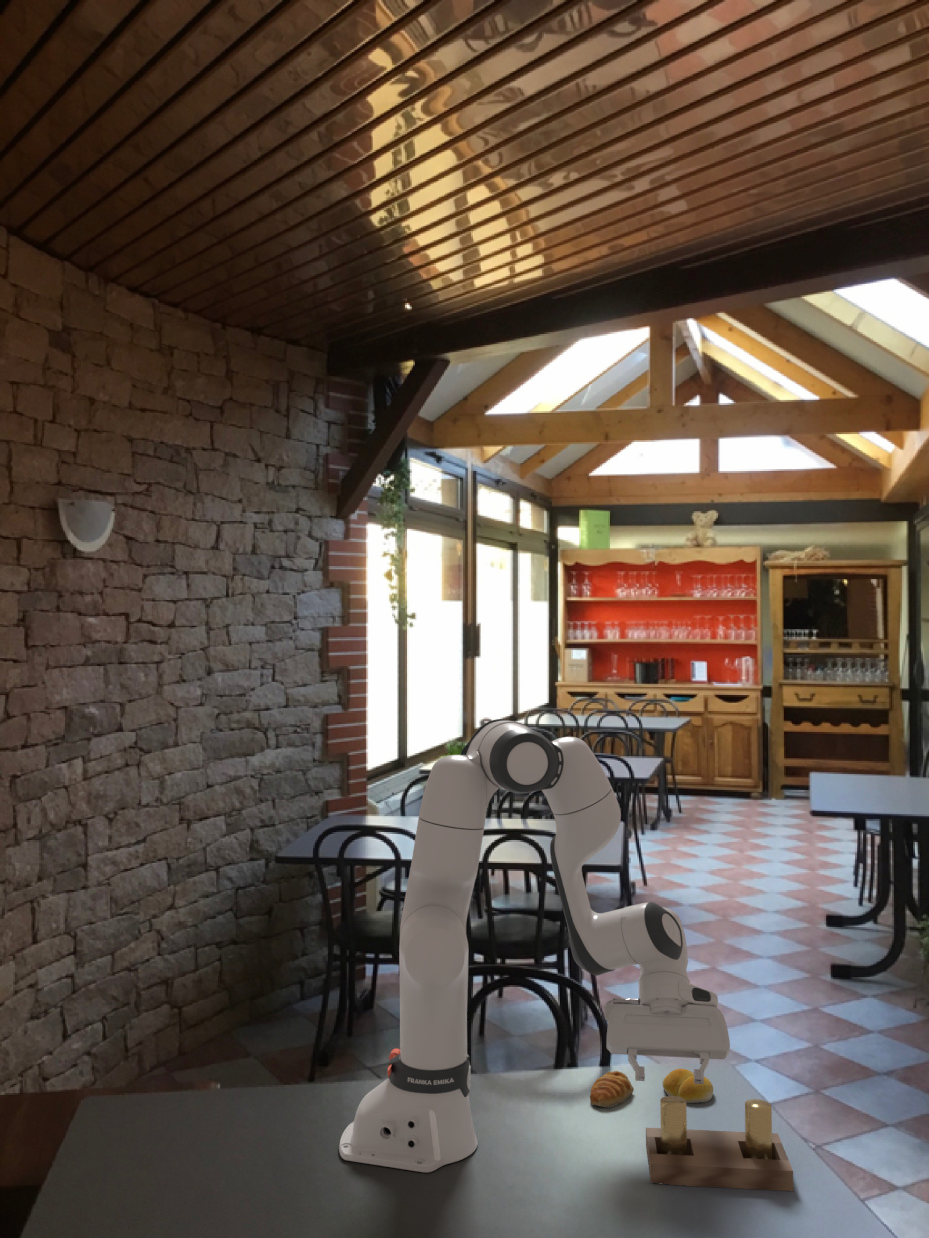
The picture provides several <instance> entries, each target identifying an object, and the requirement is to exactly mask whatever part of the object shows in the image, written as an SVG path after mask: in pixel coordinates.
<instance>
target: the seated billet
mask: <svg viewBox="0 0 929 1238" xmlns="http://www.w3.org/2000/svg"><path fill="white" fill-rule="evenodd" d="M772 1112H773V1111H772V1104H771V1103H770V1102H768V1101H766V1100H763V1099H758V1098H757V1099H755V1098H754V1099H752V1098H751V1099H748V1100H746V1101H745V1102H744V1132H745V1150H746V1158H750V1159H771V1160H772V1133H773V1127H772V1126H773V1120H772V1119H773V1118H772V1114H773V1113H772Z"/></svg>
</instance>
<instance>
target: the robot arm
mask: <svg viewBox="0 0 929 1238" xmlns="http://www.w3.org/2000/svg"><path fill="white" fill-rule="evenodd" d="M427 778H428V779H427V782H426V785H425V787H424V791H423V794H422V800H421V802H420V803H421V804H420V807H419V812H418V813H419V814H418V820H417V826H416V833H415V839H414V844H413V851H412V856H411V857H412V858H411V863H410V870H409V874H408V879H407V884H406V891H405V896H404V903H403V907H402V908H403V909H402V915H401V918H400V919H401V920H400V924H399V925H400V928H399V947H398V949H399V951H398V952H399V953H398V954H399V959H398V960H399V962H398V963H399V1048H393V1049H392V1050H391V1052H390V1054H389V1056H388V1059H389V1060H388V1064H387V1078H386V1079H385V1080H384V1081H382V1082H381V1083H380V1084H378V1085H377V1086H376V1087H374V1088H373V1089H371V1090H370V1091H369V1092H367V1093H366V1095H365V1096H364V1097H363V1098H362V1099H361V1101H360V1103H359V1105H358V1107H357V1109H356V1111H355V1116H354V1120H353V1121H351V1122H350V1123H349V1124H348V1125H347V1127H346V1128H345V1129H344V1131H343V1132H342V1135H341V1136H340V1140H339V1144H338V1145H339V1146H338V1151H339V1155H340V1157H341V1158H342V1159H343V1160H344V1161H348V1162H349V1161H350V1162H354V1163H355V1162H356V1163H361V1164H369V1165H374V1166H381V1167H389V1168H394V1169H400V1170H407V1171H413V1172H418V1173H419V1172H420V1173H432V1172H434V1171H436V1170H437V1169H439V1168H441V1167H443V1166H445V1165H448V1164H452V1163H456V1162H459V1161H461V1160H463V1159H465V1158H467V1157H469V1156H470V1155H472V1154H473V1153H474V1152H475V1150H476V1149H477V1148H478V1145H479V1144H478V1138H477V1135H476V1131H475V1129H474V1128H475V1127H474V1123H473V1117H472V1112H471V1104H470V1095H469V1094H470V1091H471V1088H472V1087H471V1084H472V1083H471V1080H472V1079H471V1077H472V1075H471V1074H472V1073H471V1070H472V1069H471V1060H470V1059H471V1058H470V1055H469V1053H468V1020H467V1019H468V1014H467V1013H468V988H469V986H468V985H469V984H468V983H469V941H468V937H467V919H468V915H469V911H470V904H471V901H472V900H471V899H472V895H473V891H474V886H475V883H476V879H477V876H478V870H479V863H480V857H481V852H482V851H481V850H482V843H483V837H484V831H485V825H486V818H487V808H488V807H489V804H490V802H491V799H492V797H493V795H494V794H495V793H496V792H497V791H498V790H499V789H500V788H502V789H504V790H506V791H507V792H509V793H510V792H511V793H514V794H528V793H529V794H530V793H533V792H538V791H541V792H542V793H543V794H544V795H543V796H545V798H546V800H547V803H548V805H549V807H550V810H551V812H552V814H553V817H554V818H553V819H554V821H555V827H556V830H555V832H556V833H555V835H554V836H553V837H552V838H551V840H550V843H549V852H550V853H549V854H550V861H551V866H552V871H553V874H554V879H555V884H556V888H557V891H558V894H559V895H558V896H559V898H560V903H561V906H562V910H563V914H564V917H565V921H566V922H565V923H566V926H567V932H568V941H569V946H570V947H569V948H570V950H571V954H572V958H573V961H574V962H575V963H576V965H577V966H578V967H579V968H580V969H582V970H584V971H585V972H587V973H589V974H590V975H593V976H601V975H603V974H607V973H609V972H613V971H615V970H617V969H618V970H619V969H621V968H628V967H632V966H637V965H638V967H639V972H640V973H639V978H638V998H621V997H614V998H612V1000H608V1001H607V1002H606V1003H605V1004H604V1006H603V1007H604V1008H603V1013H604V1015H603V1016H604V1020H606V1022H607V1030H606V1031H607V1032H606V1050H608V1051H609V1053H610V1054H612V1055H624V1056H625V1055H627V1061H628V1062H629V1065H630V1067H632V1069H633V1071H634V1076H635V1082H645V1081H646V1079H645V1077H646V1074H645V1066H641V1065H640V1064H639V1062H638V1061H637V1058H638V1056H648V1057H666V1058H667V1057H668V1058H687V1059H699V1064H700V1066H699V1068H698V1069H697V1068H694V1070H693V1073H694V1074H693V1075H694V1084H704V1077H705V1075H704V1074H705V1072H706V1070H707V1068H708V1066H709V1063H710V1060H726V1059H727V1057H728V1055H729V1053H730V1051H731V1050H730V1049H731V1043H730V1041H731V1040H730V1036H729V1030H728V1026H727V1021H726V1018H725V1015H724V1013H723V1012H722V1011H721V1010H720V1009H719V1000H718V999H719V998H718V994H717V993H716V992H714V991H712V990H709V989H707V988H703V987H700V986H698V985H695V984H692V983H691V982H690V978H689V976H688V971H687V969H688V964H689V963H688V962H689V958H688V957H689V956H688V955H689V954H688V948H687V947H688V945H687V940H686V935H685V931H684V927H683V922H682V920H681V918H680V916H679V915H678V914H677V913H676V912H675V911H674V910H672V909H670V908H668V907H664V906H661V905H660V904H657V903H656V902H653V901H650V902H649V901H648V902H643V903H641V902H640V903H637V904H633V905H628V906H625V907H622V908H618V909H615V910H609V911H605V912H600V913H599V912H596V911H594V910H593V909H592V907H591V903H590V900H589V897H588V892H587V888H586V883H585V880H584V876H583V872H582V871H583V869H582V867H583V866H584V865H585V863H586V862H588V861H589V860H590V859H591V858H592V857H594V856H595V855H597V854H598V853H599V852H600V851H602V850H603V849H604V848H605V847H606V846H607V845H608V844H609V843H610V842H611V841H612V840H613V838H614V837H615V835H616V834H617V832H618V830H619V827H620V824H621V820H622V819H621V817H622V814H621V808H620V804H619V801H618V799H617V797H616V794H615V791H614V789H613V787H612V785H611V783H610V780H609V778H608V776H607V774H606V773H605V771H604V768H603V767H602V765H601V763H600V762H599V760H598V759H597V757H596V756H595V754H594V752H593V751H592V750H591V748H590V746H589V745H588V744H587V743H586V741H584V740H583V739H581V738H579V737H576V736H564V737H563V736H562V737H559V738H556V739H554V740H552V741H551V740H550V739H548V738H547V737H546V736H545V735H543V734H542V733H540V732H538V731H536V730H534V729H531V728H530V727H529V726H527V725H526V724H525V723H521V722H519V721H516V720H515V721H514V720H508V719H504V718H499V719H498V718H496V719H493V720H489V721H487V722H485V723H483V724H481V726H480V727H478V729H477V730H476V731H475V732H474V733H473V735H472V737H471V738H470V739H469V741H468V742H467V743H466V745H465V746H464V748H462V750H461V752H460V754H450V755H446V756H443V757H440V758H439V759H437V761H435V762H434V763H433V765H432V767H431V770H430V773H429V775H428V777H427Z"/></svg>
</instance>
